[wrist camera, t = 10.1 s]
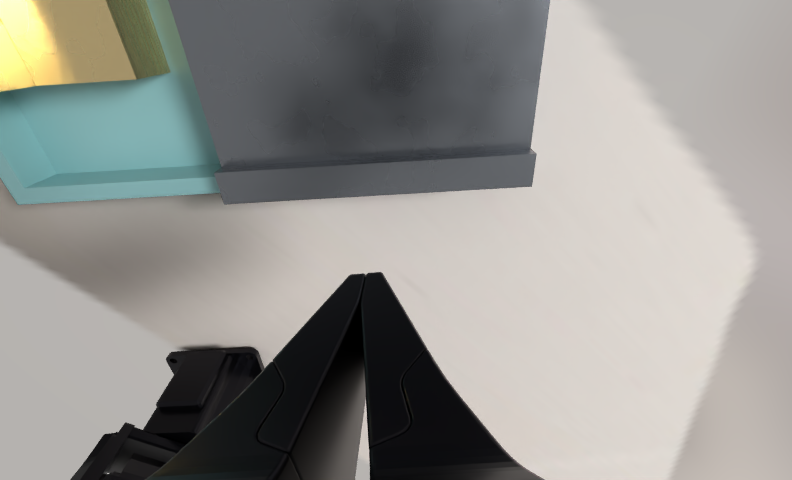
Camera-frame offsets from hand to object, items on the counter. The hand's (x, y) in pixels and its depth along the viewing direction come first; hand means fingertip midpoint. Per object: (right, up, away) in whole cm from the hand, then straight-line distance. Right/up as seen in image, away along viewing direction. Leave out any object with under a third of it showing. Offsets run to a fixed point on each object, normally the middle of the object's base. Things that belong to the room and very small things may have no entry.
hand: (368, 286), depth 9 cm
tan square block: (-11, +10, +6) cm, 17 cm away
